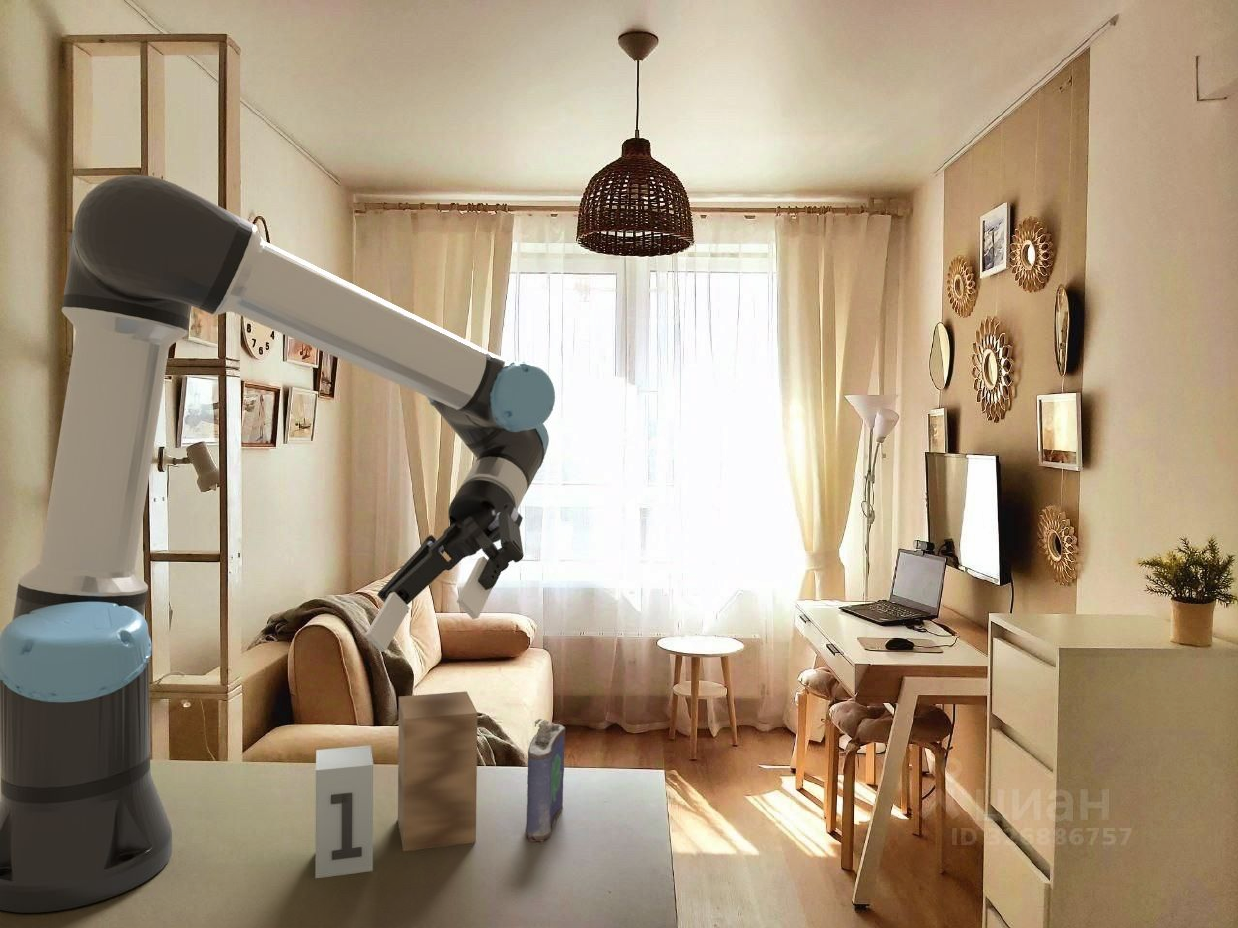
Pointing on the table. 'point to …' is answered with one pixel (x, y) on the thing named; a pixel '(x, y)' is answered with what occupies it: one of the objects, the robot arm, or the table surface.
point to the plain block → (437, 770)
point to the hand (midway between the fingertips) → (419, 627)
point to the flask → (545, 780)
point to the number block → (344, 811)
